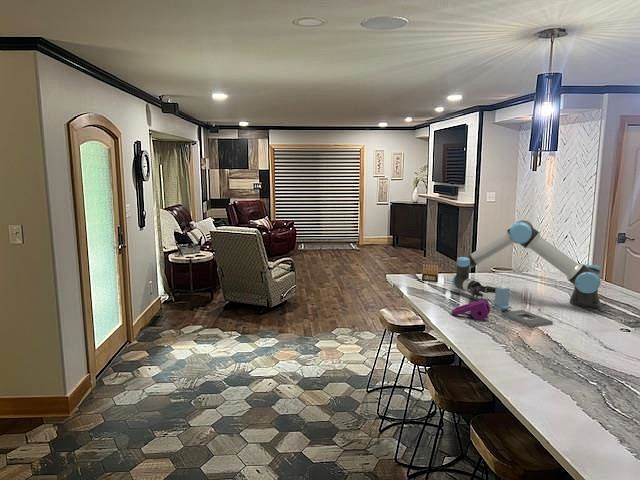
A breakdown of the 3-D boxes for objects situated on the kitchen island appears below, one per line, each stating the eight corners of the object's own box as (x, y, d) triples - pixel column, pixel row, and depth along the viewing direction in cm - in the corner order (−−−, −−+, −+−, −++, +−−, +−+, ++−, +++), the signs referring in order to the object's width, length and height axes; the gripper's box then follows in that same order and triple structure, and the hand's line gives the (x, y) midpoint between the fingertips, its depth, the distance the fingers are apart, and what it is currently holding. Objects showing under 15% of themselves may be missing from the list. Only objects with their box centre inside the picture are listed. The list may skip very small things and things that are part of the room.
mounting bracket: (456, 328, 245) (489, 318, 236) (449, 312, 246) (483, 302, 237) (459, 322, 253) (492, 313, 245) (453, 308, 254) (486, 298, 245)
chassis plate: (501, 315, 248) (501, 312, 247) (522, 312, 253) (522, 309, 252) (530, 327, 229) (530, 323, 229) (552, 324, 234) (552, 320, 234)
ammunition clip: (438, 281, 320) (438, 264, 318) (437, 282, 318) (438, 264, 316) (422, 280, 324) (422, 263, 322) (421, 280, 322) (422, 263, 320)
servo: (491, 306, 263) (492, 284, 261) (498, 306, 264) (499, 283, 262) (503, 312, 253) (505, 288, 252) (511, 311, 255) (513, 288, 253)
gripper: (489, 291, 285) (514, 300, 265) (454, 294, 276) (478, 304, 257) (489, 278, 284) (515, 287, 264) (455, 282, 275) (479, 291, 255)
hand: (497, 295), depth 260 cm, fingers open, 13 cm apart
